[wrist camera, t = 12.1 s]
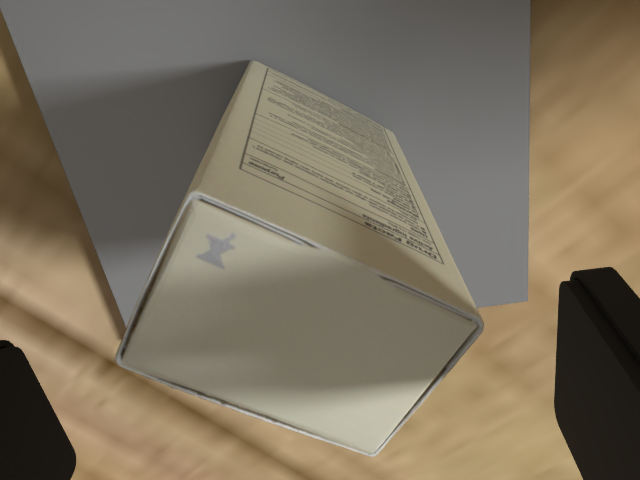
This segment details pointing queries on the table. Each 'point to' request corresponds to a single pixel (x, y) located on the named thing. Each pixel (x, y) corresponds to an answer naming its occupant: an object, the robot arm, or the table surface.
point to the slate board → (306, 67)
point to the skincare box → (303, 274)
